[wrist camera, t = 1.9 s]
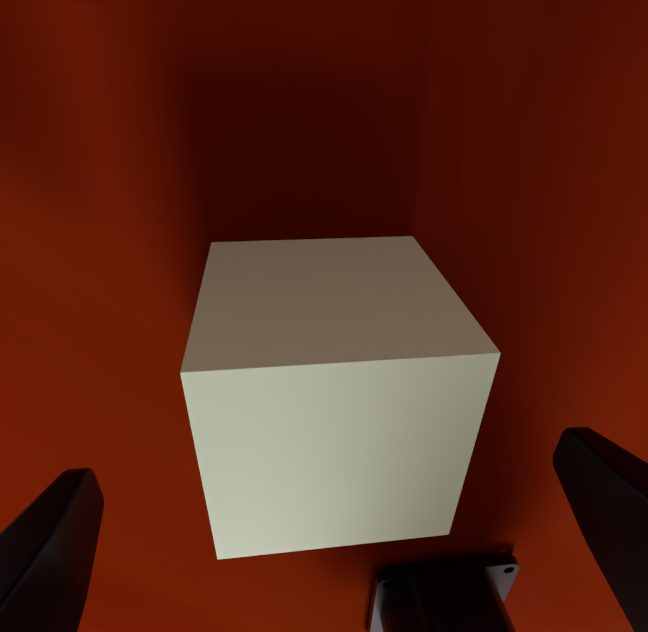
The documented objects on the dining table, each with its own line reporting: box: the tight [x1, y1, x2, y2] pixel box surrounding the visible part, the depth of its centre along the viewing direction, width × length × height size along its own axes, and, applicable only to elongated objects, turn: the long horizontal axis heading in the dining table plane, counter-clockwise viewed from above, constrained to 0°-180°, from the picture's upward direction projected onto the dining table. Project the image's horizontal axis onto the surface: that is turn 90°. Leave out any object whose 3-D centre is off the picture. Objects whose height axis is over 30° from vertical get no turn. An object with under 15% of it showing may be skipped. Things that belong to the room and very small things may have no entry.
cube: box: [180, 236, 501, 559], centre depth 10 cm, size 5×5×5 cm
